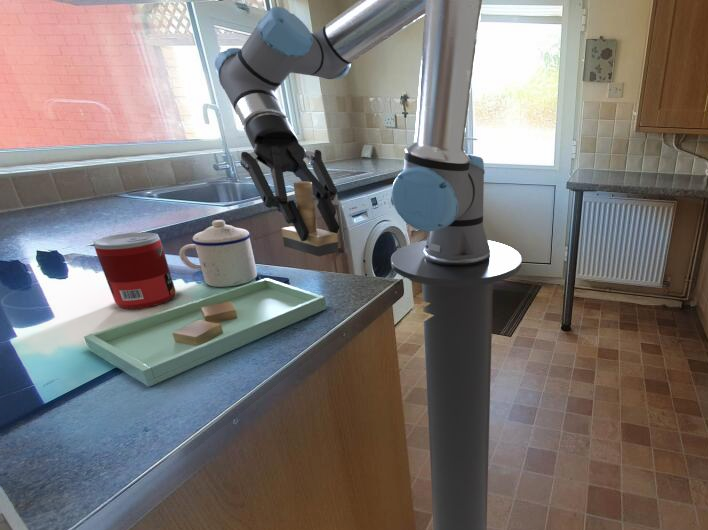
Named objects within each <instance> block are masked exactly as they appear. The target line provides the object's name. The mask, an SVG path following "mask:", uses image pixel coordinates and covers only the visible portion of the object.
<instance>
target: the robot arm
mask: <svg viewBox="0 0 708 530" xmlns="http://www.w3.org/2000/svg"><path fill="white" fill-rule="evenodd" d="M482 5H483V0H358V1H357V2H355V3H354V4H352V5H351V6H350V7H349V8H347V9H345V10H344V11H343V12H341V13H340V14H338V16H335V18H333V19H332V20H330V21H329V22H328V23H327V24H325V25H323V27H321V28H319V29H318V30H316V31H315V32H313V33H312V32H311V31H310V30H309V28H308V26H307V25H306V24H305V22H303V20H301V19H300V18H299V17H298V16H297V15H296V14H294V13H292V12H290V11H289V10H288V9H286V8H284V7H281V6H272V7H271V8H270V9H269V10H268V11H267V12H266V14H265V15H264V16H263V17H262V18H260V19H259V21H258V23H257V25H256V26H255V28H254V29H253V31H252V32H251V33H250V35H249V37H248V38H247V39H246V41H245V42H244V44H243V45H242V47H241V48H239V47H231V48H227V49H226V50H224V51H220V52H219V53H218V54H217V56H216V58H215V59H214V60H215V61H214V68H215V72H216V74H217V77H218V79H219V80H218V81H219V84H220V86H221V88H222V89H223V91H224V92H225V94H226V96H227V98H228V100H229V101H230V104H231V106H232V108H233V110H234V112H235V114H236V116H237V118H238V121H239V122H240V124H241V126H242V128H243V131H244V132H245V134H246V135H245V136H246V137H247V139H248V141H249V143H250V145H251V148H252V149H253V152H247V151H242V152H241V153H240V161H239V162H240V163H239V164H240V166H241V167H242V168H243V169H245V171H246V172H247V173H248V175H249V177H250V178H251V180H252V182H253V185H254V186H255V189H256V190H257V193H258V195H259V197H260V198H261V201H262V202H263V204H264V206H265V207H266V208H268V209H270V208H274V207H275V208H276V210H277V211H278V212H279V213H281V214H282V216H283V218H284V220H285V222H286V223H287V224H288V225H289V224H292V226H294V227H295V229H296V231H297V233H298V235H299V237H300V239H301V241H306V240H307V237H308V234H309V231H308V229H307V227H306V225H305V223H304V221H303V219H302V217H301V215H300V213H299V211H298V208H297V205H296V201H295V200H293V199H292V200H288V194H287V193H288V192H287V190H286V182H285V178H284V173H286V172H287V173H293V174H294V176H295V177H296V178H298V179H300V181H309V182H312V189H313V197H314V199H316V200H317V201H318V203H317V205H316V207H317V210H318V211H319V213H320V215H321V218H322V219H323V221H324V223H325V225H326V227H327V229H328V231H329V232H333V233H337V234H338V233H339V230H340V224H339V223H338V221H337V219H336V217H335V216H336V213H337V209H336V207H335V206H334V203H333V201H334V200H335V198H336V195H337V193H338V189H337V187H336V185H335V183H334V181H333V179H332V177H331V175H330V173H329V171H328V169H327V167H326V166H325V163H324V162H323V158H322V156H323V155H322V151H321V150H319V149H315V150H314V151H309V150H306V149H305V147H303V146H302V144H301V143H300V142H299V140H298V137H297V135H296V133H295V131H294V129H293V127H292V125H291V123H290V121H289V119H288V117H287V115H286V113H285V112H284V110H283V108H282V106H281V103H280V101H279V100H278V97H277V96H276V94H275V93H276V91H277V89H278V88H279V87H280V86H281V85H282V84H283V83H284V81H285V80H287V78H288V77H289V75H290V74H299V75H304V76H305V75H306V76H311V77H318V78H322V79H326V80H338V79H342V78H344V77H346V76H347V75H348V73H349V72H350V69H351V65H352V63H353V62H355V61H356V60H358V59H360V58H362V57H363V56H364V55H365V54H368V53H369V52H370V51H372V50H374V49H375V48H376V47H378V46H379V45H381V44H383V43H384V42H386V41H387V40H388V39H390V38H391V37H393V36H394V35H396V34H398V33H399V32H401V31H403V30H404V29H405V28H407V27H408V26H410V25H411V24H413V23H415V22H416V21H417V20H419V19H420V18H422V17H424V21H423V33H422V45H421V56H420V57H421V58H420V69H419V81H418V82H419V83H418V92H417V93H418V94H417V95H418V96H417V107H416V118H415V119H416V120H415V132H414V140H413V142H411V143H410V144H409V145H408V146H406V147H405V149H404V157H403V170H401V172H399V174H398V175H397V176H396V177H395V179H394V181H393V183H392V186H391V199H392V204H393V207H394V209H395V211H396V213H397V214H398V215H399V216H400V218H401V219H402V220H403V221H404V222H405V223H406V224H407V225H408V226H410V227H411V228H414V229H416V230H418V231H422V232H428V234H427V237H426V240H427V241H426V244H425V248H424V257H425V259H426V260H427V261H429V262H431V263H433V264H436V265H441V266H448V267H467V266H474V265H479V264H482V263H484V262H486V261H488V260H489V259H490V246H489V243H488V241H489V240H488V236H487V233H486V230H485V227H484V192H485V191H484V188H485V186H484V185H485V172H486V170H485V163H484V159H483V157H482V156H481V155H477V154H468V153H466V151H465V149H464V146H465V137H466V129H467V122H468V113H469V107H470V98H471V91H472V83H473V75H474V67H475V60H476V52H477V43H478V38H479V37H478V35H479V29H480V21H481V13H482V12H481V11H482ZM304 159H306V160H307V162H308V164H309V165H310V166H311V167H312V170H313V172H314V173H313V172H312V171H311V170H310V168H308V165H307V163H306V161H305V160H304ZM259 162H260V163H261V164H263V165H264V166H266V167H267V168H268V169H270V174H271V178H272V183H273V189H274V192H273V190H272V188H271V186H270V184H269V182H268V180H267V178H266V176H265V175H264V172H263V170H262V168H261V167H260V164H259ZM274 193H275V194H274Z"/></svg>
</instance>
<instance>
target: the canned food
mask: <svg viewBox="0 0 708 530" xmlns="http://www.w3.org/2000/svg"><path fill="white" fill-rule="evenodd" d="M161 241H162V240H161V238H160V237H159V234H158V233H153V232H148V231H147V232H146V231H145V232H144V231H143V232H139V231H138V232H127V233H119V234H113V235H108V236H104V237H101V238H98V239H96V240H95V241H93V247H94V250H95V254H96V256H97V259H98V261H99V264H100V266H101V269H102V272H103V274H104V277H105V279H106V282H107V284H108V287H109V290H110V293H111V295H112V298H113V300H114V302H115V304H116V305H117V306H118V307H119V308H121V309H127V310H136V309H137V310H139V309H144V308H150V307H155V306H158V305H161V304H165V303H168V302H169V301H170V300H172V299H173V298H174V297H175V296H176V287H175V284H174V281H173V277H172V274H171V271H170V268H169V264H168V261H167V256H166V254H165V251H164V247H163V243H162V242H161Z"/></svg>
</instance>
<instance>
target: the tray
mask: <svg viewBox="0 0 708 530" xmlns="http://www.w3.org/2000/svg"><path fill="white" fill-rule="evenodd" d="M229 301H230V302H231V303H232V305H233V306H234V308H235V310H236V313H237V317H238V318H235V319H231V320H227V321H223V322H219V323H218V324H221V326H222V330H223V333H222V334H220V335H218V336H216V337H215V338H213V339H211V340H209V341H207V342H205V343H204V344H201V345H199V346H195V345H189V344H184V343H178V342H175V340H174V337H173V334H172V333H173V332H175V331H177V330H179V329H181V328H183V327H185V326H187V325H189V324H192V323H194V322H196V321H198V320H200V321H205V320H204V318H203V315H202V312H201V307H206V306H210V305H215V304H219V303H224V302H229ZM324 310H327V301H326V296H324V295H321V294H317V293H314V292H312V291H308V290H305V289H303V288H299V287H296V286H293V285H290V284H288V283H284V282H281V281H278V280H275V279H272V278H269V277H265V278H262V279H259V280H255V281H251V282H248V283H245V284H242V285H239V286H237V287H233V288H231V289H228V290H225V291H221V292H218V293H215V294H212V295H209V296H206V297H203V298H199V299H196V300H194V301H190V302H186V303H184V304H180V305H178V306H174V307H171V308H168V309H165V310H162V311H159V312H155V313H153V314H149V315H147V316H144V317H143V316H142V317H140V318H136V319H134V320H131V321H127V322H124V323H122V324H118V325H115V326H112V327H109V328H106V329H102V330H99V331H96V332H94V333H89V334H87V335H84V336H83V338H84V340H85V342H86V345H87V347H88V349H89V352H91V353H93V354H94V355H96V356H98V357H100V358H101V359H103V360H104V361H106V362H108V363H109V364H111V365H112V366H114V367H115V368H118V369H119V370H121V371H122V372H124V373H126V374H127V375H129V376H130V377H132V378H134V379H135V380H136V381H138V382H140V383H142V384H144V385H145V386H146V387H148V388H150V387H152V386H154V385H157V384H159V383H161V382H164V381H166V380H167V379H170V378H173V377H175V376H177V375H179V374H181V373H184V372H187V371H189V370H190V369H192V368H195V367H198V366H199V365H202V364H204V363H207V362H209V361H210V360H214V359H216V358H218V357H220V356H222V355H225V354H227V353H229V352H232V351H234V350H236V349H238V348H240V347H243V346H245V345H247V344H250V343H252V342H254V341H257V340H259V339H261V338H263V337H265V336H268V335H270V334H272V333H275V332H277V331H279V330H281V329H283V328H286V327H289V326H291V325H293V324H295V323H297V322H300V321H302V320H304V319H307V318H309V317H311V316H313V315H315V314H318V313H320V312H322V311H324Z"/></svg>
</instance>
